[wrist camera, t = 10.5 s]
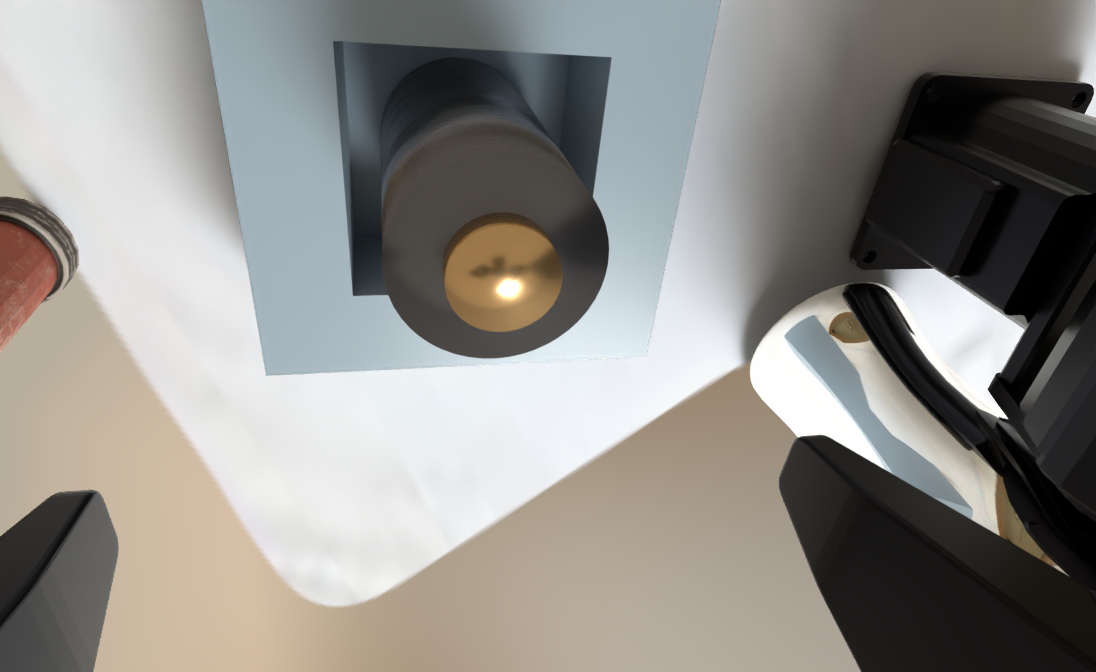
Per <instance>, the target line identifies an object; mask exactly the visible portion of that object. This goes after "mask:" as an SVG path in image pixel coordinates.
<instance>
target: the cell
mask: <svg viewBox="0 0 1096 672" xmlns="http://www.w3.org/2000/svg"><path fill="white" fill-rule="evenodd" d="M381 201H382V270H383V277H384V283H385V286H386V290H387V293H388V296H389V298H390V300H391V302H392V305H393V307H394V308H395V310H396V311H397V313H398V314H399V316H400V317H401V319H402V320H403V321H404V322H405V323H406V324H407V326H408V327H409V328H410V329H411V330H413V331H414V332H415V333H416V334H417V335H418V336H420V337H421V338H423V339H424V340H426V341H427V342H429V343H430V344H432V345H434V346H436V347H438V348H440V349H442V350H445V351H448V352H451V353H453V354H457V355H461V356H466V357H472V358H482V359H488V358H504V357H511V356H516V355H520V354H524V353H527V352H530V351H533V350H536V349H538V348H540V347H542V346H544V345H547V344H548V343H550V342H552V341H554V340H555V339H557V338H559V337H560V336H561V335H563V334H564V333H565V332H567V331H568V330H569V329H571V328H572V327H573V326H574V325H575V324H576V323H577V322H578V321H579V320H580V319H581V318H582V317H583V315H584V314H585V313H586V312H587V311H588V309H589V308H590V306H591V305H592V303H593V302H594V300H595V299H596V297H597V295H598V293H599V291H600V289H601V287H602V284H603V281H604V278H605V275H606V271H607V266H608V259H609V239H608V233H607V228H606V224H605V221H604V218H603V216H602V213H601V211H600V209H599V207H598V205H597V203H596V202H595V200H594V198H593V197H592V195H591V194H590V193H589V191H588V190H587V188H586V187H585V185H584V184H583V183H582V181H581V180H580V178H579V177H578V175H577V174H576V172H575V171H574V170H573V168H572V167H571V165H570V164H569V162H568V161H567V160H566V158H565V157H564V155H563V154H562V152H561V151H560V150H559V148H558V147H557V145H556V144H555V142H554V141H553V140H552V138H551V137H550V135H549V134H548V132H547V131H546V129H545V128H544V127H543V125H542V124H541V122H540V121H539V119H538V118H537V117H536V115H535V114H534V112H533V111H532V109H531V108H530V107H529V105H528V104H527V102H526V101H525V99H524V98H523V96H522V95H521V94H520V92H519V91H518V89H517V88H516V87H515V86H514V84H513V83H512V82H511V81H510V80H509V79H508V78H507V77H506V76H505V75H503V74H502V73H501V72H500V71H498V70H497V69H495V68H493V67H491V66H490V65H488V64H485V63H483V62H480V61H477V60H473V59H469V58H461V57H448V58H442V59H437V60H434V61H430V62H427V63H425V64H423V65H421V66H419V67H417V68H416V69H414V70H413V71H411V72H410V73H409V74H407V75H406V76H405V77H404V78H403V79H402V80H401V81H400V82H399V83H398V85H397V86H396V87H395V88H394V90H393V91H392V93H391V95H390V96H389V98H388V101H387V103H386V105H385V108H384V111H383V115H382V121H381Z"/></svg>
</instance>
